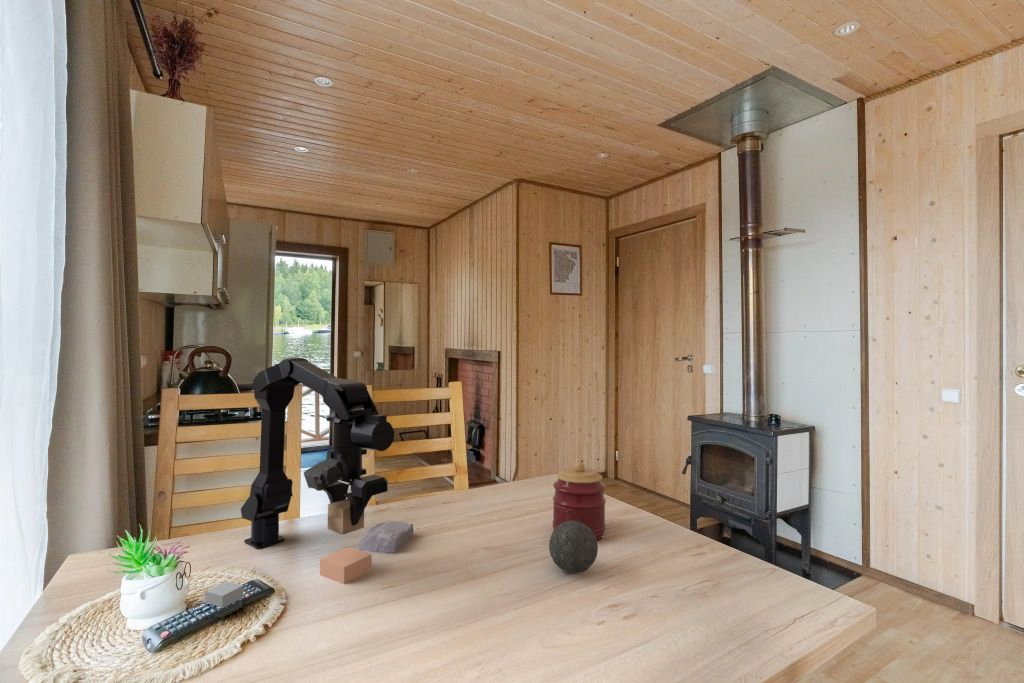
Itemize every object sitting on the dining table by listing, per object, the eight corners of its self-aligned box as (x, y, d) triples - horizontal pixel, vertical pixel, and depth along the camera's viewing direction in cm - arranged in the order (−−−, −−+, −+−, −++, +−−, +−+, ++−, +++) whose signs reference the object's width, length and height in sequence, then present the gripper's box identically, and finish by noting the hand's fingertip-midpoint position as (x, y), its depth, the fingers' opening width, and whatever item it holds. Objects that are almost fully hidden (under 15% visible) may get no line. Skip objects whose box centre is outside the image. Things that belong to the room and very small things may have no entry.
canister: (613, 530, 125) (614, 460, 125) (592, 547, 114) (593, 471, 115) (566, 520, 132) (567, 453, 132) (543, 535, 121) (543, 463, 122)
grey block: (204, 615, 84) (205, 591, 84) (225, 603, 88) (226, 581, 88) (222, 620, 83) (222, 596, 83) (242, 608, 87) (243, 585, 87)
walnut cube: (327, 528, 100) (328, 504, 100) (348, 522, 104) (349, 498, 104) (342, 534, 97) (343, 509, 97) (363, 527, 101) (364, 502, 101)
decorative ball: (538, 570, 102) (539, 522, 103) (567, 556, 110) (568, 510, 110) (578, 587, 96) (579, 535, 96) (607, 570, 103) (607, 522, 103)
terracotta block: (319, 576, 99) (319, 558, 99) (347, 563, 105) (347, 546, 105) (343, 585, 96) (344, 567, 96) (371, 571, 102) (371, 554, 102)
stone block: (355, 560, 111) (397, 554, 109) (352, 538, 111) (394, 532, 110) (379, 541, 123) (417, 536, 121) (376, 521, 123) (414, 516, 121)
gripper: (284, 444, 100) (283, 522, 100) (341, 458, 89) (339, 546, 89) (333, 436, 109) (332, 508, 109) (390, 448, 98) (388, 528, 98)
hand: (346, 522), depth 101 cm, fingers closed on walnut cube, 5 cm apart
